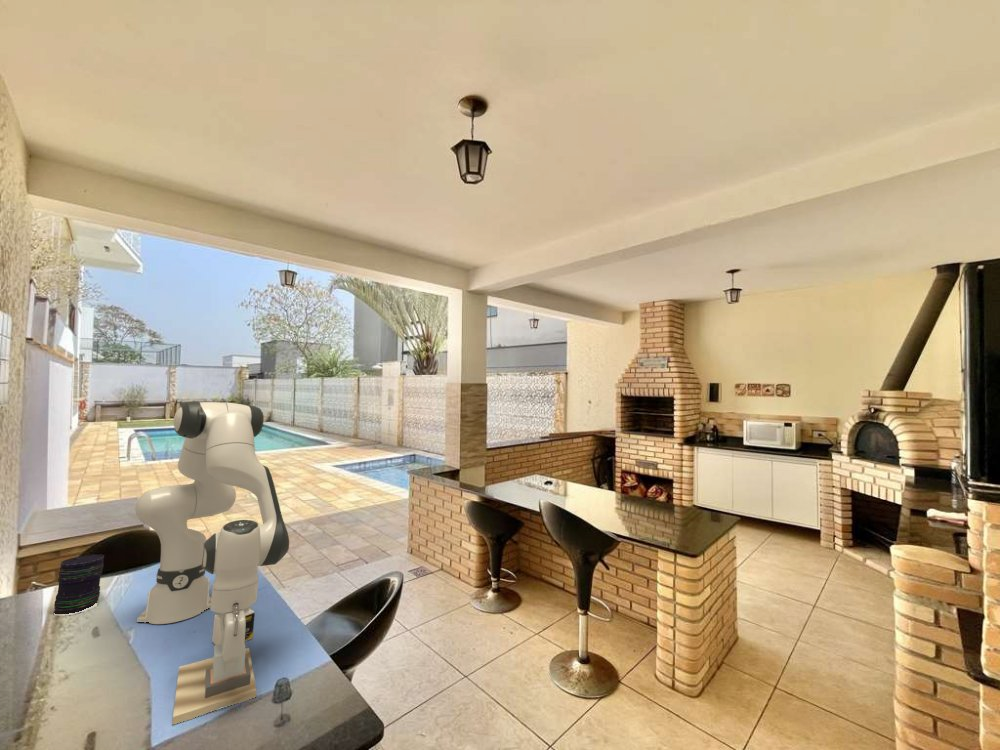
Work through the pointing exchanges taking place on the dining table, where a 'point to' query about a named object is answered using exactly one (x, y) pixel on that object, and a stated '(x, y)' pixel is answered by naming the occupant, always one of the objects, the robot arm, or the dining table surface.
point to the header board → (196, 691)
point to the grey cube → (220, 665)
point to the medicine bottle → (248, 630)
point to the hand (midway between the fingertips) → (229, 662)
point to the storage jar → (78, 583)
